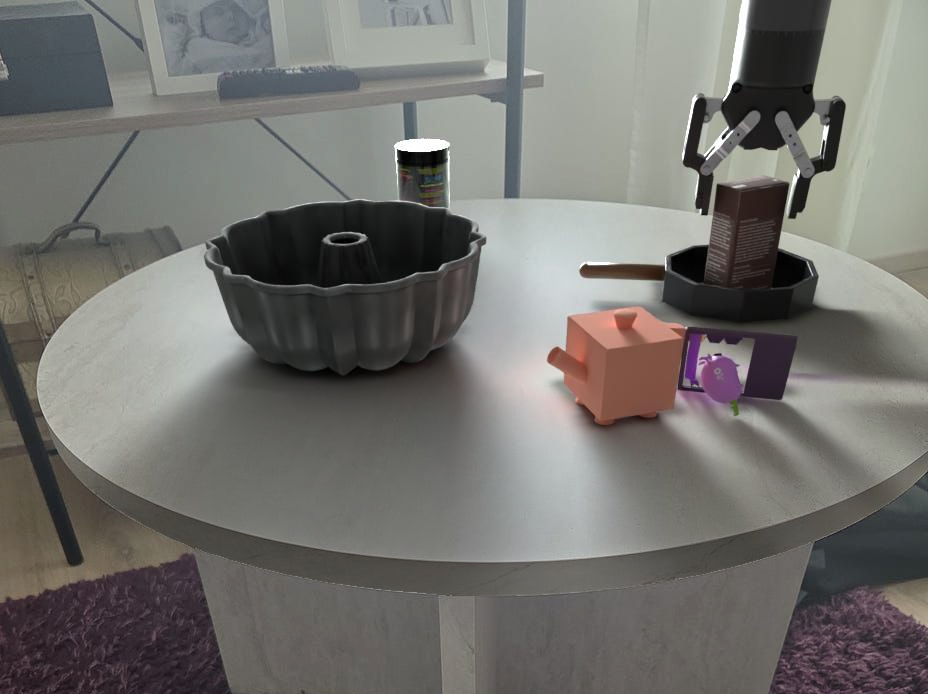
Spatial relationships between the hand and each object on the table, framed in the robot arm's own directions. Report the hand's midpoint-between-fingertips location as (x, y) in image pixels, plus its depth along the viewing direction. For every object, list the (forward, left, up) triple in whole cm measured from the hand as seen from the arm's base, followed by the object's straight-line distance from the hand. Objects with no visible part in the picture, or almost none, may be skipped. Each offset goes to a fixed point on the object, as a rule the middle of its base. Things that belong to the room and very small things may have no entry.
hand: (747, 215), depth 92 cm
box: (0, 0, -9) cm, 9 cm away
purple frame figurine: (+2, +25, -9) cm, 27 cm away
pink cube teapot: (+12, +27, -9) cm, 31 cm away
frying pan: (+4, 0, -9) cm, 10 cm away
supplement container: (+38, -22, -9) cm, 45 cm away
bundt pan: (+38, +15, -9) cm, 42 cm away
